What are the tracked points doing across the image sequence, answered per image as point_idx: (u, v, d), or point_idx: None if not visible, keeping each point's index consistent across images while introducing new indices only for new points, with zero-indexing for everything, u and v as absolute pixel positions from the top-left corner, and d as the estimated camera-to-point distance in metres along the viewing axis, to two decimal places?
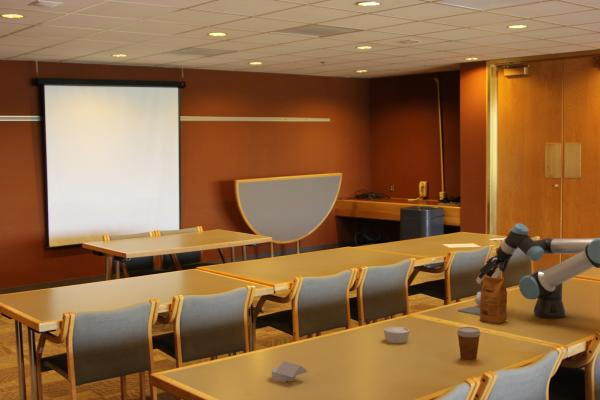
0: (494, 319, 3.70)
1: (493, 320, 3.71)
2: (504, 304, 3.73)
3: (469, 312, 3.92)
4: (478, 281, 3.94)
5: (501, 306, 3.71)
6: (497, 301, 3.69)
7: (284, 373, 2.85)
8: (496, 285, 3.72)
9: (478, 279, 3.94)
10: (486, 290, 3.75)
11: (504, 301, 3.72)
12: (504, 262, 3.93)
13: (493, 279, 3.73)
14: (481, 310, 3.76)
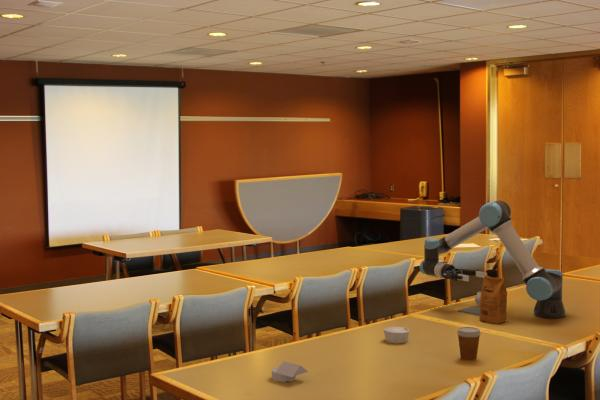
0: (494, 319, 3.70)
1: (493, 320, 3.71)
2: (504, 304, 3.73)
3: (469, 312, 3.92)
4: (466, 277, 3.79)
5: (501, 306, 3.71)
6: (497, 301, 3.69)
7: (284, 373, 2.85)
8: (496, 285, 3.72)
9: (465, 278, 3.79)
10: (486, 290, 3.75)
11: (504, 301, 3.72)
12: (459, 269, 3.95)
13: (493, 279, 3.73)
14: (481, 310, 3.76)
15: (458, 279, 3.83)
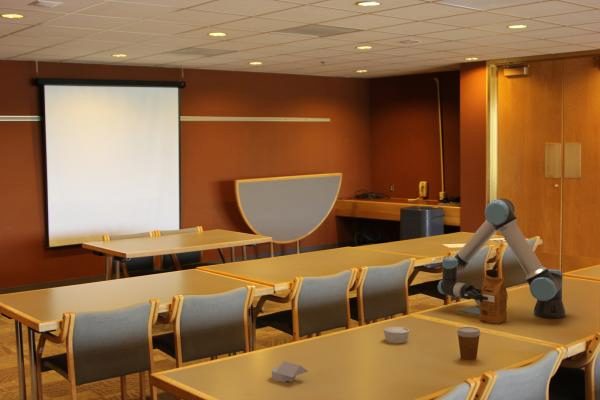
0: (494, 319, 3.70)
1: (493, 320, 3.70)
2: (504, 304, 3.73)
3: (469, 312, 3.92)
4: (492, 298, 3.69)
5: (501, 306, 3.71)
6: (497, 301, 3.69)
7: (284, 373, 2.85)
8: (496, 285, 3.72)
9: (490, 299, 3.70)
10: (486, 290, 3.75)
11: (504, 301, 3.72)
12: (479, 289, 3.85)
13: (493, 279, 3.73)
14: (481, 310, 3.76)
15: None
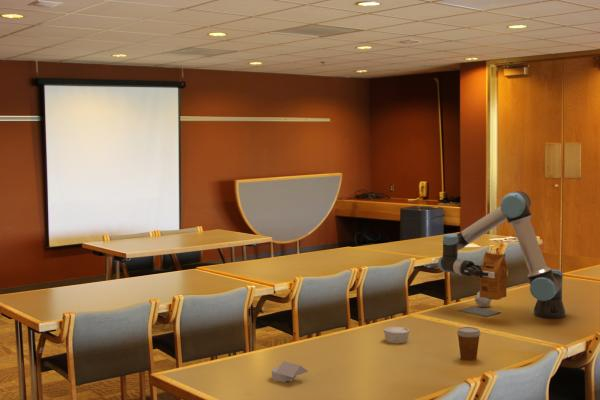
0: (494, 295, 3.70)
1: (493, 296, 3.70)
2: (504, 280, 3.72)
3: (469, 312, 3.92)
4: (492, 274, 3.68)
5: (501, 282, 3.70)
6: (497, 277, 3.68)
7: (284, 373, 2.85)
8: (496, 261, 3.71)
9: (490, 275, 3.69)
10: (486, 266, 3.74)
11: (504, 277, 3.71)
12: None
13: (493, 255, 3.72)
14: (481, 286, 3.75)
15: None
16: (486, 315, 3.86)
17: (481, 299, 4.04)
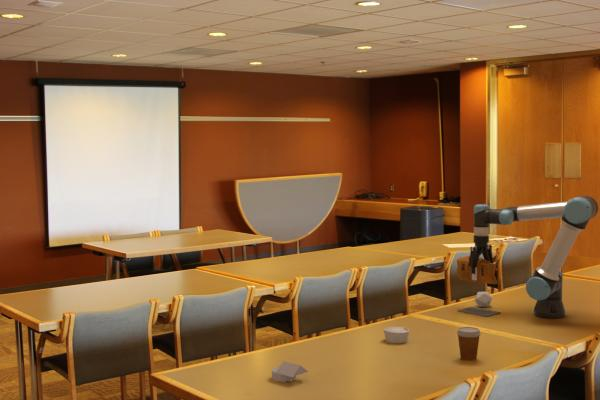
0: (460, 276, 3.99)
1: (459, 276, 3.99)
2: None
3: (469, 312, 3.92)
4: (474, 278, 3.90)
5: None
6: (474, 281, 3.92)
7: (284, 373, 2.85)
8: (488, 277, 3.88)
9: (473, 276, 3.90)
10: (482, 267, 3.88)
11: None
12: (486, 249, 3.92)
13: (493, 274, 3.85)
14: (464, 263, 3.95)
15: None
16: (486, 315, 3.86)
17: (481, 299, 4.04)
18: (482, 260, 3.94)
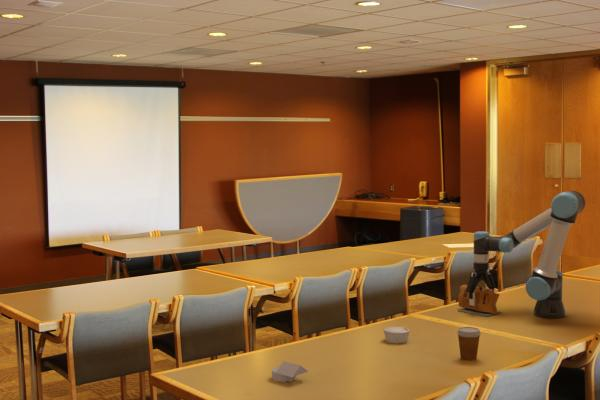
0: (460, 303, 4.00)
1: (460, 302, 4.00)
2: None
3: (469, 312, 3.92)
4: (471, 303, 3.90)
5: None
6: (474, 308, 3.93)
7: (284, 373, 2.85)
8: (489, 306, 3.89)
9: (471, 301, 3.90)
10: (484, 295, 3.91)
11: None
12: (486, 276, 3.93)
13: (494, 303, 3.87)
14: None
15: None
16: (486, 315, 3.86)
17: None
18: (485, 290, 3.96)
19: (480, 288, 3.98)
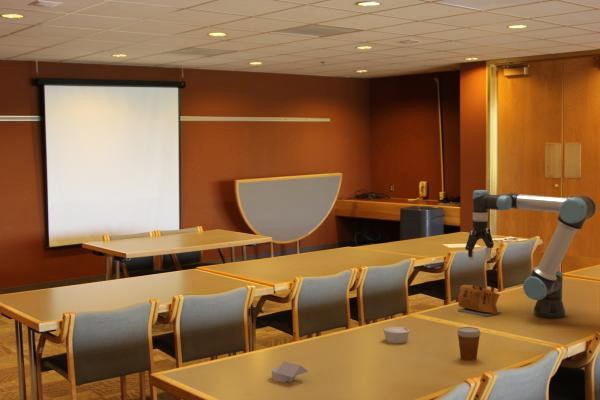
0: (460, 303, 4.00)
1: (460, 302, 4.00)
2: None
3: (469, 312, 3.92)
4: (471, 261, 3.91)
5: None
6: (474, 308, 3.93)
7: (284, 373, 2.85)
8: (489, 306, 3.89)
9: (470, 259, 3.91)
10: (484, 295, 3.91)
11: None
12: (485, 234, 3.95)
13: (494, 303, 3.87)
14: (467, 289, 3.98)
15: None
16: (486, 315, 3.86)
17: None
18: (485, 290, 3.96)
19: (480, 288, 3.98)
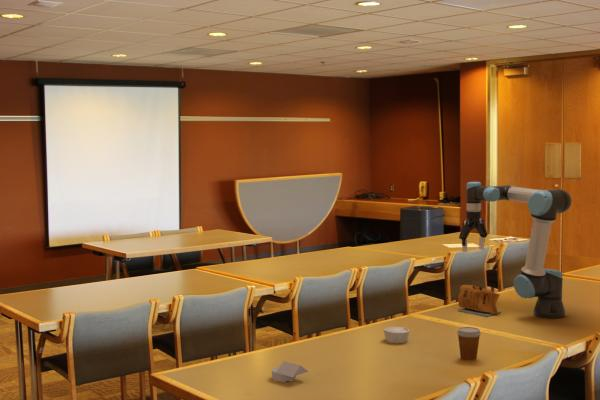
0: (460, 303, 4.00)
1: (460, 302, 4.00)
2: None
3: (469, 312, 3.92)
4: (464, 250, 4.08)
5: None
6: (474, 308, 3.93)
7: (284, 373, 2.85)
8: (489, 306, 3.89)
9: (463, 248, 4.08)
10: (484, 295, 3.91)
11: None
12: (479, 224, 4.12)
13: (494, 303, 3.87)
14: (467, 289, 3.98)
15: None
16: (486, 315, 3.86)
17: None
18: (485, 290, 3.96)
19: (480, 288, 3.98)
